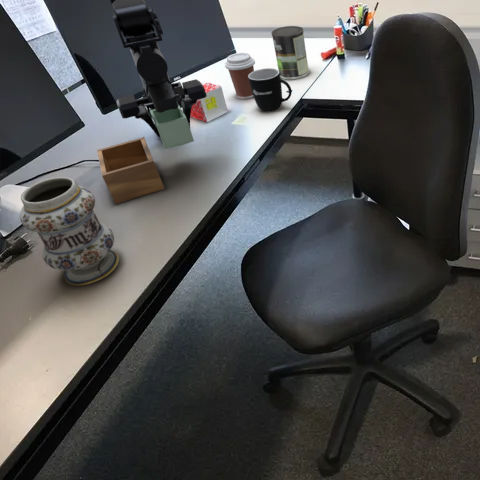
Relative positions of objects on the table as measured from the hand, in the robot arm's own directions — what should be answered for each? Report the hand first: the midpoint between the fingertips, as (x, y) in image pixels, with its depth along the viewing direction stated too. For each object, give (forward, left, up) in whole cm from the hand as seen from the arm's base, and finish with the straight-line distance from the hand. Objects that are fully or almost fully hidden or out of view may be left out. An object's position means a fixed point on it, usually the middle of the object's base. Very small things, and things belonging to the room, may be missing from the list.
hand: (174, 132), depth 115 cm
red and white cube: (-28, +13, -10) cm, 32 cm away
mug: (-20, +31, -10) cm, 38 cm away
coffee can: (-42, +46, -10) cm, 63 cm away
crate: (0, -12, -9) cm, 15 cm away
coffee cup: (-35, +27, -10) cm, 45 cm away
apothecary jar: (+28, -24, -10) cm, 38 cm away
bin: (0, 0, -1) cm, 1 cm away
